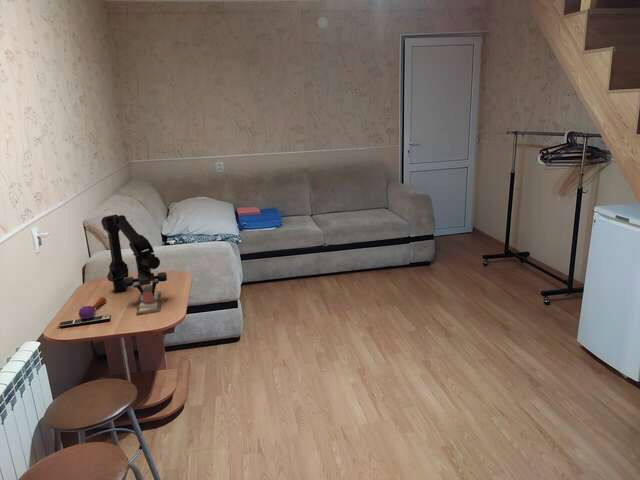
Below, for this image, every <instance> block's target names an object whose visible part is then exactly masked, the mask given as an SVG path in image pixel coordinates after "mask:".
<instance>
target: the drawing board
mask: <svg viewBox="0 0 640 480" xmlns="http://www.w3.org/2000/svg"><path fill="white" fill-rule="evenodd" d="M161 292H162V291H161V290H159V291H157V290H156V291H155V292H154V297H153V302H149V303H144V300H143V296H142V294H141V293H140V294H138V301H137V306H136V307H137V308H136V316H141V315H147V314H155V313H160V312H161V295H162V293H161Z"/></svg>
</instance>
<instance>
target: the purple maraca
mask: <svg viewBox="0 0 640 480" xmlns="http://www.w3.org/2000/svg"><path fill="white" fill-rule="evenodd" d="M106 302H107V299H106V297H104V296H100V298H99V299H98V300H97V301H96V302H95V303H94V304H93V305H87V306H85V305H84V306H82V307H81V308H80V309H79V310H78V316H79V318H80V319H81V320H84V319H88V320H90V319H92V318H93V317H94V313H95V309H96V308H98V307H100V306H102V305H104V304H106ZM89 318H90V319H89Z"/></svg>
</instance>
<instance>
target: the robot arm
mask: <svg viewBox="0 0 640 480" xmlns="http://www.w3.org/2000/svg"><path fill="white" fill-rule="evenodd" d="M100 222H101V225H102V227H103V230H104V232H106V233H107V237H108V243H109V244H108V245H109V249H110V250H109V251H110V257H111V262H110V264H109V267H108V269H109V270H108V273H107V276H106V278H107V280H108V281H109V282H112V285H113V290H112V293H113V294H115V293H123V292H127V291H128V288H129V287H132V286H133V288H137V290H138V291H139V293H140V294H142V296H143V287H144V286H149V285H152V291H153V296H154V292H156V291H155V290H156V286H157V284H160V283H161V282H166V281H168V276H167V272H165V271H163V272H157V274H156V275H155V273H154V272H152V270H156V269H158V268H159V266H160V265H161V260H160V258H159V257H157V256H156V254H155V251H154V248H153V246H152V245H151V242H150V241H149V239H147V238H146V237H145V236H144V235H142V234H140V233H138V232H137V231H136V230H135V228H134V227H133V226H132V225H131V224H130V222H129V221H128V220H127V217H126V216H125V215H123V214H121V215H118V214H112V215H107V216H103V217H102V218H101V221H100ZM120 232H121V233H122V234H123V235H124V236H125V238H126V239H127V240H128V244H129V248H130V250H131V251H132V252H133V253H132V255H133V256H135V263H136V269H137V277H136V278H134V276H129V268H128V264H127V263H126V262H125V261H124V260H123V256H122V255H123V254H122V247H121V239H120V234H119V233H120ZM151 283H152V284H151Z"/></svg>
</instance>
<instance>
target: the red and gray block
mask: <svg viewBox="0 0 640 480" xmlns="http://www.w3.org/2000/svg"><path fill="white" fill-rule="evenodd" d="M142 288H143V300H144V303H149V302H153V297H154V296H153V291H152V284H149V285H143V286H142Z"/></svg>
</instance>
